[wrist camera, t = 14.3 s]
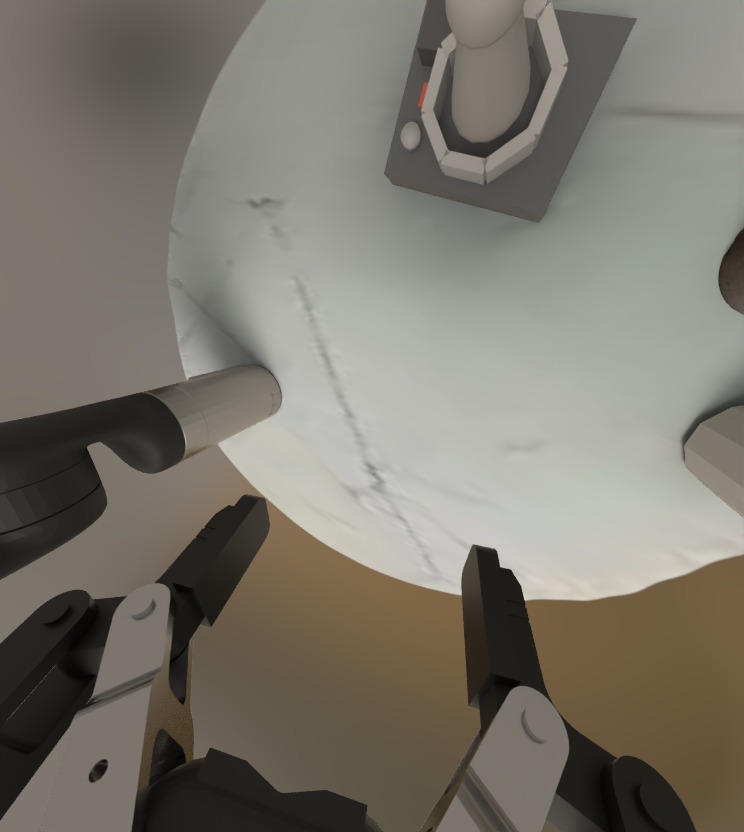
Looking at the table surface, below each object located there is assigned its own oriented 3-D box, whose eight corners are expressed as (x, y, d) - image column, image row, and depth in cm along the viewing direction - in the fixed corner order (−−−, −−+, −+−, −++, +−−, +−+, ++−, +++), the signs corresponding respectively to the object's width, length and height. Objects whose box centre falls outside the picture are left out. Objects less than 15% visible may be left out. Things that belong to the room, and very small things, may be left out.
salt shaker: (454, 82, 25) (424, -104, 14) (528, 52, 23) (566, -197, 12) (455, 164, 27) (429, 60, 16) (524, 143, 25) (552, 7, 13)
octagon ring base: (392, 184, 32) (375, 162, 27) (434, 26, 26) (421, -35, 22) (539, 222, 28) (549, 205, 24) (620, 51, 23) (654, -16, 18)
